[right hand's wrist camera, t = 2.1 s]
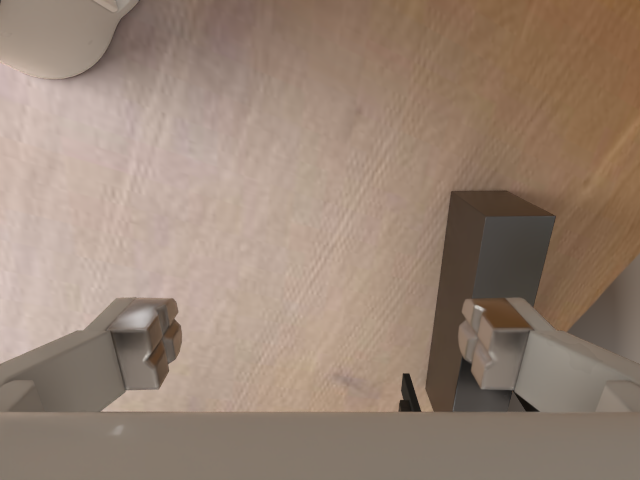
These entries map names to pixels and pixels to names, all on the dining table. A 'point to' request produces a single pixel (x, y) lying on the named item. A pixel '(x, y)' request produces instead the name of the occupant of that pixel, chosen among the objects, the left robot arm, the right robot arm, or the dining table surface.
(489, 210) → the bar
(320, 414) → the right robot arm
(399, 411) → the left robot arm
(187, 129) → the dining table surface
